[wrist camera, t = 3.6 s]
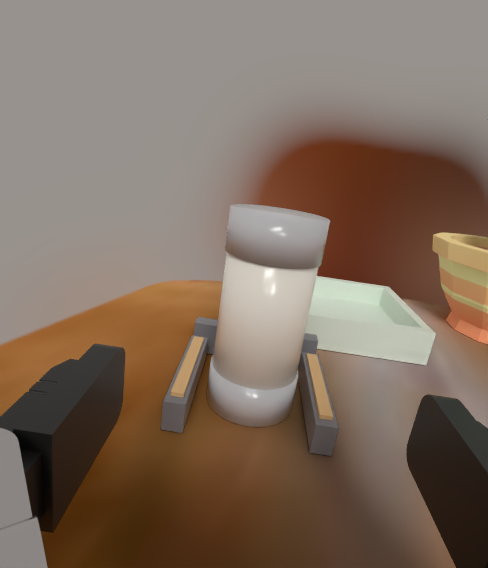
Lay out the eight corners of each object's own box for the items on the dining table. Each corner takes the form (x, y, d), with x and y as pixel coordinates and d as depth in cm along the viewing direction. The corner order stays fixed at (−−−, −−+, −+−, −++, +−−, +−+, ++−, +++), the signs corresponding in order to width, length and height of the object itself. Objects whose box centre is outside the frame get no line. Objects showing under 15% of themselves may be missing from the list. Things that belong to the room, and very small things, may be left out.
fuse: (289, 382, 23) (322, 214, 20) (294, 433, 19) (338, 227, 16) (212, 370, 23) (234, 201, 20) (199, 419, 19) (225, 211, 16)
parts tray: (382, 310, 39) (388, 286, 38) (426, 365, 28) (436, 333, 27) (231, 288, 39) (235, 263, 38) (219, 333, 28) (223, 301, 27)
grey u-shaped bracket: (310, 362, 26) (316, 334, 25) (331, 456, 18) (341, 418, 17) (194, 344, 26) (197, 316, 26) (160, 429, 18) (164, 391, 17)
